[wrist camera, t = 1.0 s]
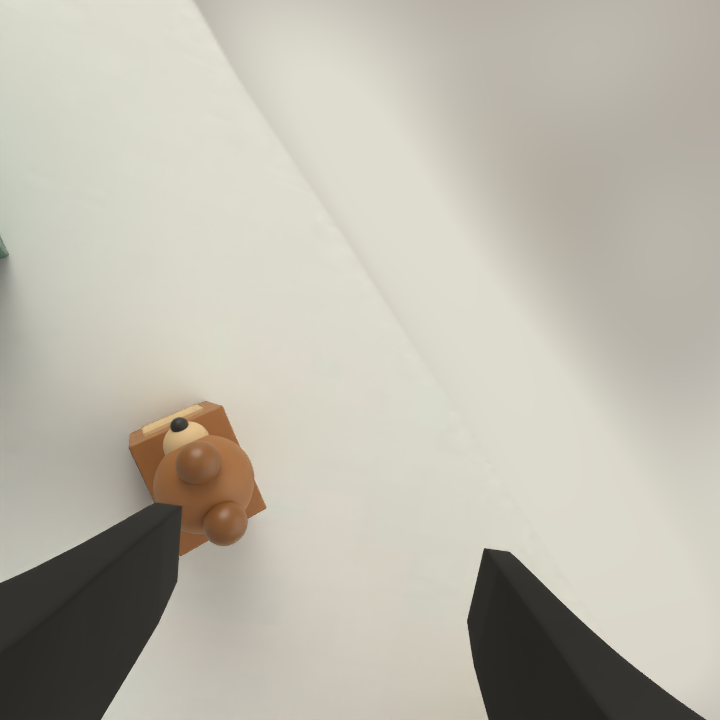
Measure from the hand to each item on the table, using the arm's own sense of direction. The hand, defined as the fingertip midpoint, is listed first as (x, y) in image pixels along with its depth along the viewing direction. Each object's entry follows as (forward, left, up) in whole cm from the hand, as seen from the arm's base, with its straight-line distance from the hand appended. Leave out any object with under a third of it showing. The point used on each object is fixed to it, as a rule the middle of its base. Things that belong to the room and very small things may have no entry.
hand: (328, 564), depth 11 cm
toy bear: (-1, +1, -13) cm, 13 cm away
